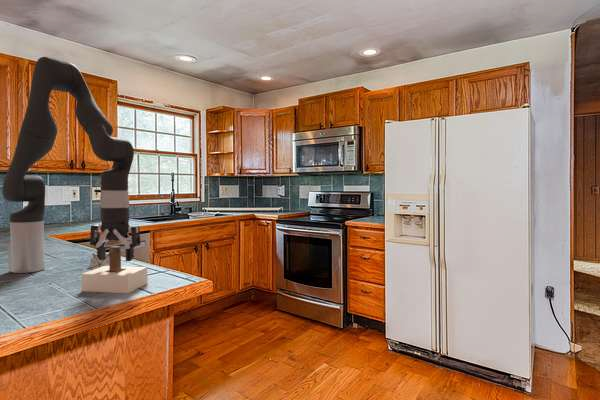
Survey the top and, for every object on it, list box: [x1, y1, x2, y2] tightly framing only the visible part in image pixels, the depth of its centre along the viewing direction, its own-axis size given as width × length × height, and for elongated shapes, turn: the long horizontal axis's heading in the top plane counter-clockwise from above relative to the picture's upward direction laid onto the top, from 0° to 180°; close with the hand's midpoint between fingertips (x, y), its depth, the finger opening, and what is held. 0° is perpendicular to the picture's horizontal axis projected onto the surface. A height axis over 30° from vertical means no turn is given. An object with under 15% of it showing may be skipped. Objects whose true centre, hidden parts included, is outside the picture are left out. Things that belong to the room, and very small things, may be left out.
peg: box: [108, 245, 122, 273], centre depth 102 cm, size 3×3×12 cm
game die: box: [86, 250, 109, 271], centre depth 114 cm, size 9×8×10 cm
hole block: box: [81, 265, 149, 294], centre depth 102 cm, size 14×10×5 cm
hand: (115, 260), depth 102 cm, fingers open, 8 cm apart
